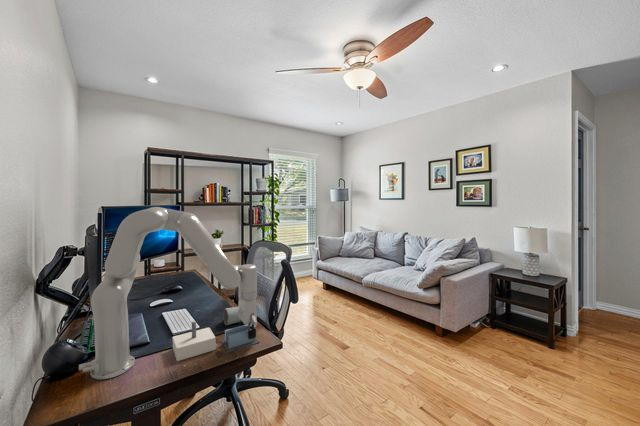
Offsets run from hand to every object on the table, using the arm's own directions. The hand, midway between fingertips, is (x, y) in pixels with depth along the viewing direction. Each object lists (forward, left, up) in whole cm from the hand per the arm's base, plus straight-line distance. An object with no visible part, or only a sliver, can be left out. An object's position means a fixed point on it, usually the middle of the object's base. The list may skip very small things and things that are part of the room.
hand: (247, 333), depth 118 cm
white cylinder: (0, +20, -3) cm, 20 cm away
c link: (-3, 0, -3) cm, 4 cm away
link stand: (-20, +5, -3) cm, 21 cm away
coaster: (-3, 0, -3) cm, 4 cm away
